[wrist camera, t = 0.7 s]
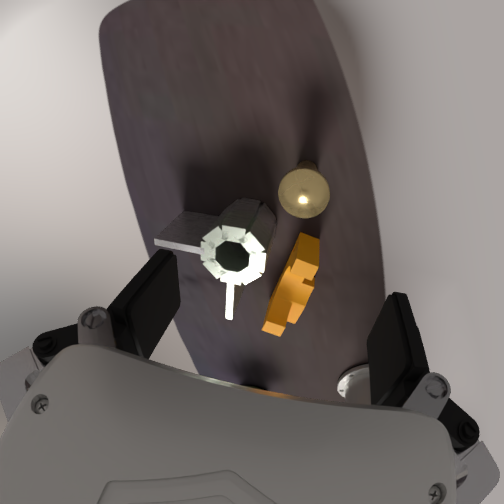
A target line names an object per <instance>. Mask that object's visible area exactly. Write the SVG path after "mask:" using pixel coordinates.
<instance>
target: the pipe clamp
mask: <svg viewBox="0 0 504 504" xmlns="http://www.w3.org/2000/svg"><path fill="white" fill-rule="evenodd" d="M318 268H319V239H317V238H314V237H312V236H309V235H307V234H304V233H301V232H300V234H299V236H298V239H297V241H296V243H295V245H294V248H293V250H292V252H291V254H290V257H289V259H288V261H287V263H286V266H285V268H284V270H283V272H282V274H281V277H280V279H279V281H278V283H277V285H276V287H275V290H274V292H273V294H272V296H271V298H270V301H269V305H268V308H267V312H266V316H265V320H264V324H263V327H262V330H263V331H266V332H268V333H271V334H274V335H277V336H281V334H282V332H283V331H284V329H285V327H286V322H287V321H288V322H291V323H294V324H295V323H296V321H297V320H298V318H299V316H300V315H301V313H302V311H303V309H304V308H305V306H306V303H307V301H308V298H309V296H310V294H311V292H312V290H313V289H314V282H315V277H314V275H315V274H316V272H317V270H318Z"/></svg>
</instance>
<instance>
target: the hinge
mask: <svg viewBox="0 0 504 504" xmlns="http://www.w3.org/2000/svg"><path fill="white" fill-rule="evenodd" d="M275 219H276V216H275V215H274V214H273V213H272V211H271V210H270V209H269V208H268V206H267V205H266V204H265V203H263V204H262V205H261V200H255V199H248V198H242V199H241V200H240V199H237V200H236V201H235V202H233V203H232V204H231V205H229V206H228V207H227V208H225V210H224V211H223V212H222V213H221V215H220V216H215V215H209V214H202V213H196V212H189V211H183V212H182V213H181V214H179V215H178V216H177V217H176V218H175V219H174V220H173V221H172V222H171V223H170V224H169V225H168V226H167V227H166V228H165V229H164V230H163V231H162V232H161V233H160V234H158V235H157V236H156V237H155V238H154V241H155V245H158V246H163V247H168V248H173V249H178V250H183V251H188V252H193V253H198V254H201V260H203V261H204V262H203V265H204V266H205V267H206V268H207V269H208V270H209V271H210V272H211V273H212V274H213V275H214V277H215V278H216V279H217V278H219V277H221V281H223V282H227V298H226V319H231V320H232V319H233V316H234V314H235V311H236V308H237V306H238V303H239V301H240V298H241V295H242V293H243V290H244V288H245V285H246V284H247V283H249V282H251V281H253V280H255V279H256V278H258V277H260V276H261V275H262V272H263V273H264V270H265V267H266V263H267V260H268V257H269V254H270V251H271V247H272V244H273V241H274V238H275V232H276V225H277V220H275Z"/></svg>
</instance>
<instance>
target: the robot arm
mask: <svg viewBox="0 0 504 504" xmlns="http://www.w3.org/2000/svg"><path fill="white" fill-rule="evenodd" d="M180 302H181V301H180V291H179V280H178V269H177V258H176V255H173V252H172V251H169V250H164V249H159V250H158V251H157V252H156V253H155V254H154V255H153V256H152V257H151V259H150V260H149V261H148V262H147V263H146V264H145V265H144V266H143V268H142V269H141V270H140V271H139V272H138V273H137V274H136V275H135V276H134V277H133V279H132V280H131V281H130V282H129V283H128V284H127V285H126V287H125V288H124V289H123V290H122V291H121V292H120V294H119V295H118V296H117V297H116V298H115V299H114V301H113V302H112V303H111V304H110V305H109V307H108V308H107V309H105V308H103V307H98V306H96V307H91V308H88V309H86V310H84V311H83V312H82V313H81V314H80V316H79V318H78V323H77V324H74V325H70V326H67V327H63V328H59V329H56V330H52V331H48V332H45V333H42V334H40V335H39V336H38V337H37V338H36V339H35V341H34V343H33V347H32V348H31V349H30V348H29V347H26V348H24V349H23V350H21V351H19V352H17V353H16V354H14V355H12V356H10V357H9V358H7V359H5V360H3V361H1V362H0V400H1V403H2V406H3V409H4V412H5V415H6V418H7V421H8V424H7V426H6V428H5V430H4V432H3V434H2V436H1V438H0V504H479V503H481V502H482V501H483V500H484V498H485V497H486V496H487V495H488V494H489V493H490V492H491V491H492V490H493V488H494V487H495V486H496V485H497V483H498V481H499V478H500V472H499V469H498V467H497V465H496V463H495V461H494V460H493V458H492V456H491V454H490V453H489V451H488V449H487V448H486V446H485V444H484V443H483V441H481V442H479V440H478V438H479V427H478V425H477V423H476V422H475V420H474V419H472V418H471V417H470V416H469V415H468V414H467V413H466V412H465V411H463V410H462V409H461V408H460V407H459V406H458V405H457V404H456V403H454V402H453V401H452V400H451V399H450V398H449V396H450V393H451V389H450V385H449V383H448V381H447V379H446V378H444V377H443V376H442V375H440V374H438V373H435V372H433V373H430V371H429V367H428V362H427V359H426V355H425V350H424V347H423V343H422V340H421V336H420V332H419V329H418V327H417V326H416V322H415V319H414V316H413V313H412V309H411V306H410V303H409V300H408V297H407V295H406V294H405V293H399V292H393V293H392V295H388V297H387V299H386V301H385V303H384V306H383V308H382V310H381V312H380V314H379V316H378V318H377V320H376V322H375V324H374V326H373V328H372V330H371V332H370V334H369V336H368V339H367V351H368V363H369V364H364V365H360V366H357V367H354V368H352V369H350V370H348V371H347V372H345V373H344V374H343V375H342V376H341V377H340V378H339V380H338V383H337V390H338V392H339V394H340V395H341V396H343V397H344V398H345V402H337V401H328V400H320V399H312V398H306V397H299V396H293V395H287V394H281V393H276V392H270V391H265V390H260V389H255V388H250V387H246V386H241V385H237V384H233V383H229V382H224V381H220V380H217V379H213V378H209V377H205V376H201V375H198V374H194V373H190V372H187V371H184V370H181V369H177V368H174V367H171V366H167V365H165V364H161V363H158V362H155V361H152V360H149V358H150V356H151V354H152V352H153V351H154V349H155V347H156V345H157V344H158V342H159V341H160V339H161V337H162V335H163V334H164V332H165V330H166V329H167V327H168V325H169V324H170V322H171V320H172V319H173V317H174V315H175V314H176V312H177V310H178V309H179V307H180Z"/></svg>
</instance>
